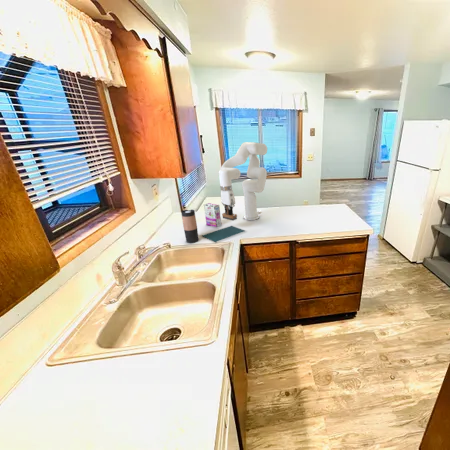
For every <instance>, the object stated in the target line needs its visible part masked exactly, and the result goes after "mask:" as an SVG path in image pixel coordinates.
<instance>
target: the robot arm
mask: <svg viewBox="0 0 450 450" xmlns="http://www.w3.org/2000/svg"><path fill="white" fill-rule="evenodd" d="M267 153H268V147H267V145H266V144H265V143H263V142H262V143H261V142H252V141H251V142H250V141H244V142H242V143H241V145H240V146H239V148H238V149H237V151H236V153H235V154H234V155H233V156H231V157H229V158H228V159H227V160H225V161H224V162H223V163H222V165H221V167H220V169H219V170H218V180H219V188H220V201H221V204H222V205H223V209H224V213H225V214H227V209H226V206H227V205H228V208H229V209H228V213H229V215H231V214H234V210H233V209H234V207H235V205H236V198H235V193H234V190H233V182H232V180H237V179H239V178H240V177H241V170H240V169H239V168H237V166H241V165H243V164H245V163H246V162H247V161H248V159H249V162H248V167H247V171H246V176H247V178H248V179H244V180H243V181H242V183H241V188H242V192H243V200H244V216H243V219H244V220H246V221H254V220H258V219H260V214H262V211H261V210H260V211H258V206H257V204H258V203H257V195H256V193H258V194H259V193H263V192H264V190H265V185H266V181H267V177H268V171H267V169H266V168H265V167H263V166H261V160H260V158H259V157H258V156H265V155H266V154H267Z"/></svg>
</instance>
